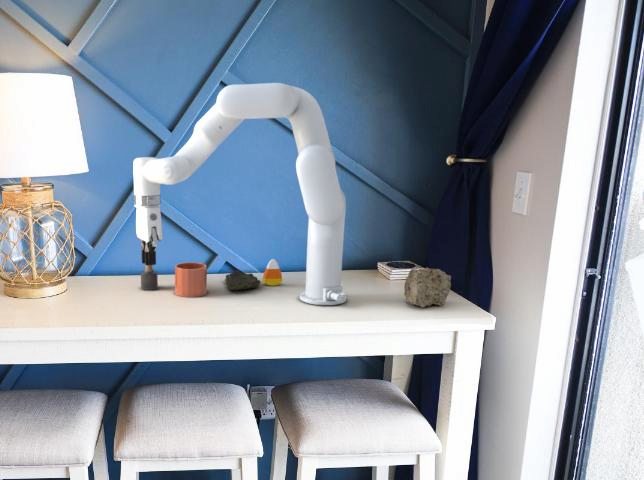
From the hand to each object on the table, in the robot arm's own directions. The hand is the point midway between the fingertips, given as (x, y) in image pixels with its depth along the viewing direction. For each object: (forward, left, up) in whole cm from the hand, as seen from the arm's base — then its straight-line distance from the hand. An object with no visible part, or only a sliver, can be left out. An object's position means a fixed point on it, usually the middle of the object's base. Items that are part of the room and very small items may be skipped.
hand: (148, 263), depth 187 cm
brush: (0, 0, -8) cm, 8 cm away
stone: (-9, -26, -8) cm, 29 cm away
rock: (-48, -62, -8) cm, 79 cm away
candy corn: (-12, -35, -8) cm, 38 cm away
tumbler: (-10, -9, -8) cm, 15 cm away
